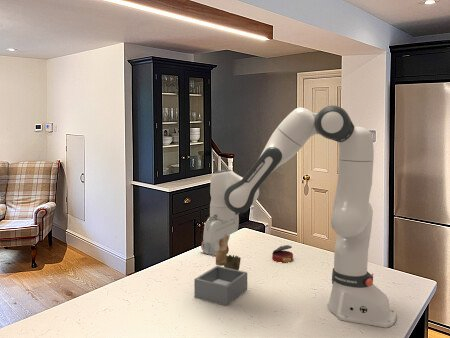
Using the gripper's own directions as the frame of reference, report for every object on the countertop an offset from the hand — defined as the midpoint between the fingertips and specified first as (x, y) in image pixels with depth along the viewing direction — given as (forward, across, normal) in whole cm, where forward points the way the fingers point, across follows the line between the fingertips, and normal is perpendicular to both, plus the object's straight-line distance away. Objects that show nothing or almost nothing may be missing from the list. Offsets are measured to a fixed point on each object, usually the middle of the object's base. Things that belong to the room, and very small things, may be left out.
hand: (221, 248), depth 148 cm
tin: (+18, +35, +25) cm, 47 cm away
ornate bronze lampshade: (+18, +17, +5) cm, 25 cm away
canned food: (+18, +47, -6) cm, 51 cm away
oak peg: (+6, 0, 0) cm, 6 cm away
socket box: (+18, 0, 0) cm, 18 cm away
